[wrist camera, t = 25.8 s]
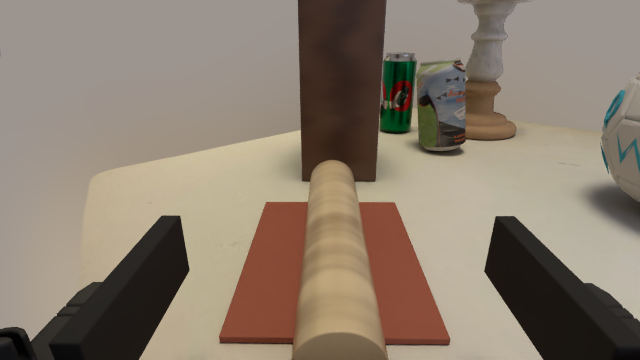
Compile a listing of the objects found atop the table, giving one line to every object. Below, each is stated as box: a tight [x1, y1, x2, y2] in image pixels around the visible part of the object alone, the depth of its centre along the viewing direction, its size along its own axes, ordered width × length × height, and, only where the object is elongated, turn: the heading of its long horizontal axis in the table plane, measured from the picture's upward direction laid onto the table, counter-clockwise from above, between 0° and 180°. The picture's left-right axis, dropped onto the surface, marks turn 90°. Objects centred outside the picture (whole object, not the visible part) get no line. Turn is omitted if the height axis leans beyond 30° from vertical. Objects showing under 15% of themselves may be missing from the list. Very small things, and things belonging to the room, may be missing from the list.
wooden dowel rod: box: [291, 160, 388, 360], centre depth 24 cm, size 20×4×4 cm, turn 179°
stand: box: [298, 0, 386, 181], centre depth 38 cm, size 8×10×29 cm
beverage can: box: [416, 58, 466, 151], centre depth 48 cm, size 6×7×12 cm
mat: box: [219, 202, 450, 344], centre depth 26 cm, size 12×16×1 cm
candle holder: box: [458, 0, 532, 140], centre depth 55 cm, size 12×12×20 cm
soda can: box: [379, 53, 417, 133], centre depth 57 cm, size 5×5×12 cm
